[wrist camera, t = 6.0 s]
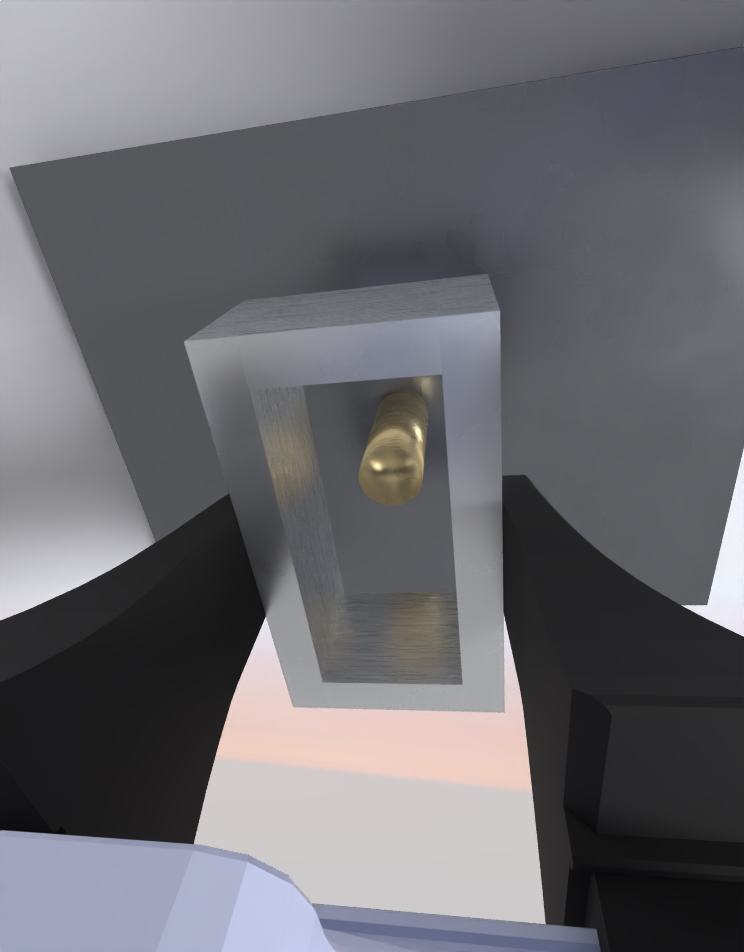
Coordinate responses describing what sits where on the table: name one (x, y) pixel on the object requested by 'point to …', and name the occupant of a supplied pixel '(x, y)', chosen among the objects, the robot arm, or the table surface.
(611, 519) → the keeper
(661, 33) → the table surface
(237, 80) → the table surface
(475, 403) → the link
